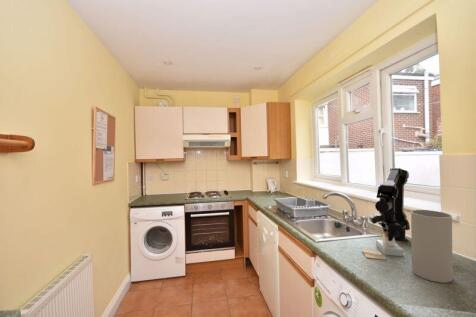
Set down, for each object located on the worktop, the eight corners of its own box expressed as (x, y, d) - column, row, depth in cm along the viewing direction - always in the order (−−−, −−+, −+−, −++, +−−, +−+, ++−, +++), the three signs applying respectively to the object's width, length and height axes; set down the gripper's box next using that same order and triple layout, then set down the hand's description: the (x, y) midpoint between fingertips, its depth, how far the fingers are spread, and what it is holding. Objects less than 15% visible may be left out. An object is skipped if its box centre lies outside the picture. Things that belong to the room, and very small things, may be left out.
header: (376, 245, 122) (376, 239, 122) (393, 246, 120) (393, 240, 120) (384, 254, 111) (384, 248, 111) (403, 256, 109) (403, 249, 109)
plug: (382, 246, 118) (382, 231, 118) (391, 247, 117) (391, 231, 117) (385, 249, 114) (385, 233, 114) (394, 250, 113) (394, 234, 113)
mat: (362, 251, 115) (362, 250, 115) (379, 252, 113) (379, 251, 113) (366, 258, 107) (366, 257, 107) (385, 259, 105) (385, 258, 105)
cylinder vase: (442, 270, 95) (442, 210, 95) (460, 286, 84) (459, 218, 83) (407, 265, 100) (406, 209, 99) (419, 280, 88) (418, 216, 87)
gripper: (364, 204, 126) (365, 232, 127) (376, 212, 108) (377, 245, 108) (387, 205, 124) (388, 233, 124) (403, 213, 106) (403, 247, 106)
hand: (388, 239), depth 116 cm, fingers closed on plug, 4 cm apart
